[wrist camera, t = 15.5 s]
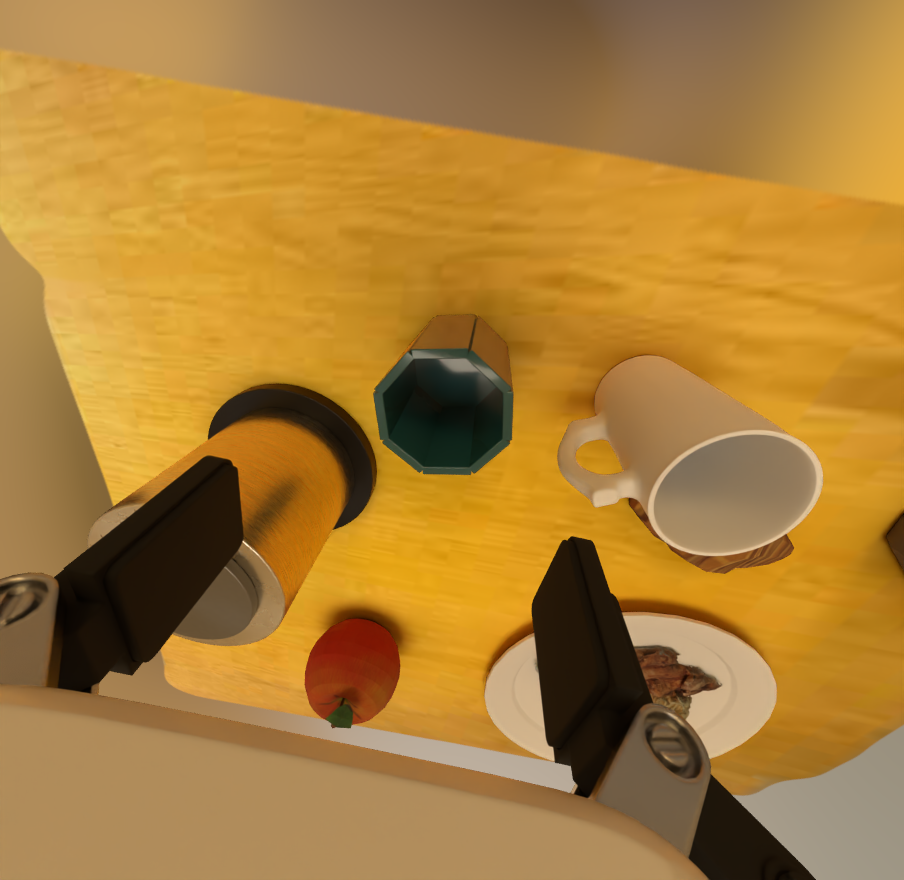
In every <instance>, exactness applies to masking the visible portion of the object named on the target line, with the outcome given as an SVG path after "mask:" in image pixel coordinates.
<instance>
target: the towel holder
mask: <svg viewBox="0 0 904 880" xmlns="http://www.w3.org/2000/svg"><path fill="white" fill-rule="evenodd" d="M207 455H211V456H215V457H220V458H224V459H229V460H231V461H232V463H233V466H235V467H237V469H238V477H239V488H240V499H241V511H242V522H243V533H244V538H243V542H242V544H241V546H240V548H239V549H238V551H237V552H236V553H235V555H234V556H233V557H232V558H231V560H230V561H229V562H228V563H227V565H226V566H225V567H224V569H223V570H222V571H221V572H220V574H219V575H218V576H217V577H216V579H215V580H214V581H213V583H212V584H211V585H210V586H209V588H208V589H207V590H206V591H205V593H204V594H203V595H202V597H201V598H200V599H199V600H198V602H197V603H196V604H195V605H194V607H193V608H192V609H191V611H190V612H189V613H188V614H187V616H186V617H185V618H184V619H183V621H182V622H181V623H180V625H179V626H178V627H177V628H176V630H175V631H174V632H173V633H172V634H174V635H176V636H179V637H182V638H185V639H188V640H192V641H195V642H200V643H205V644H210V645H219V646H237V645H245V644H250V643H254V642H257V641H259V640H261V639H264V638H266V637H267V636H269V635H270V634H271V633H273V632H274V631H275V630H276V629H277V628H278V626H279V625H280V623H281V622H282V620H283V618H284V616H285V615H286V613H287V611H288V609H289V607H290V606H291V604H292V602H293V600H294V598H295V597H296V595H297V593H298V591H299V589H300V588H301V586H302V584H303V582H304V580H305V579H306V577H307V575H308V573H309V571H310V570H311V568H312V566H313V564H314V562H315V561H316V559H317V557H318V555H319V553H320V551H321V550H322V548H323V546H324V544H325V542H326V541H327V539H328V537H329V535H330V533H331V532H332V530H334V529H337V528H339V527H342V526H344V525H346V524H348V523H349V522H351V521H352V520H353V519H355V518H356V517H357V516H358V515H359V514H360V513H361V512H362V511H363V509H364V508H365V506H366V505H367V503H368V501H369V499H370V497H371V494H372V492H373V490H374V486H375V482H376V462H375V457H374V453H373V450H372V448H371V445H370V443H369V441H368V439H367V437H366V435H365V434H364V432H363V431H362V429H361V428H360V426H359V425H358V424H357V423H356V422H355V420H354V419H353V418H352V417H351V416H350V415H349V414H348V413H347V412H346V411H345V410H343V409H342V408H341V407H340V406H338V405H337V404H335V403H334V402H333V401H331V400H329V399H328V398H326V397H324V396H322V395H320V394H318V393H316V392H314V391H311V390H308V389H305V388H302V387H298V386H293V385H288V384H265V385H260V386H255V387H252V388H250V389H247V390H245V391H243V392H241V393H240V394H238V395H236V396H235V397H233V398H231V399H230V400H228V401H227V402H226V403H225V404H224V405H222V406H221V408H220V409H219V410H218V411H217V413H216V414H215V416H214V418H213V420H212V422H211V425H210V428H209V434H208V440H207V441H206V442H205V443H203V444H202V445H200V446H199V447H197V448H196V449H195V450H193V451H192V452H190V453H189V454H187V455H186V456H185V457H183V458H182V459H180V460H179V461H178V462H176V463H175V464H173V465H172V466H170V467H169V468H168V469H166V470H165V471H163V472H162V473H160V474H159V475H158V476H156V477H155V478H153V479H152V480H151V481H149V482H148V483H146V484H145V485H143V486H142V487H141V488H139V489H138V490H136V491H135V492H133V493H132V494H131V495H129V496H128V497H126V498H125V499H124V500H122V501H121V502H119V503H118V504H116V505H115V506H114V507H112V508H111V509H109V510H108V511H107V512H105V513H104V514H103V515H101V516H100V517H99V518H98V519H97V520H96V522H95V523H94V524H93V526H92V527H91V530H90V532H89V535H88V541H87V546H88V549H89V548H90V547H91V546H92V545H94V544H95V543H96V542H97V541H99V540H100V539H101V538H102V537H104V536H105V535H106V534H108V533H109V532H110V531H111V530H113V529H114V528H115V527H116V526H118V525H119V524H120V523H121V522H123V521H124V520H125V519H126V518H128V517H129V516H130V515H131V514H133V513H134V512H135V511H136V510H138V509H139V508H140V507H141V506H143V505H144V504H145V503H147V502H148V501H149V500H150V499H152V498H153V497H154V496H155V495H157V494H158V493H159V492H160V491H162V490H163V489H164V488H165V487H167V486H168V485H169V484H170V483H172V482H173V481H174V480H175V479H177V478H178V477H179V476H181V475H182V474H183V473H184V472H186V471H187V470H188V469H189V468H191V467H192V466H193V465H194V464H196V463H197V462H198V461H199V460H201V459H202V458H203V457H205V456H207Z"/></svg>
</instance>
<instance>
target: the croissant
mask: <svg viewBox="0 0 904 880" xmlns="http://www.w3.org/2000/svg"><path fill="white" fill-rule="evenodd" d="M629 505H630V506H631V508H632V509H633V510H634V512H635V513H636V514H637V516H638V517H639V518H640V519H641V521H642V522H643V523H644V524H645V525H646V527H647V528H648V529H649V530H650V531H651V533H652V534H653V535H654V536H655V537H657V538H659V539H660V540H662V539H661V538H660V537H659V536H658V534H657V533H656V532H655V530H654V529H653V527H652V525H651V523H650V521H649V517H648V516H647V514H646V512H645V511H644V509H643V507H642V505H641V504H640V502H639V501H638V500H636V499H634V498H629ZM662 541H664V540H662ZM664 542H665V541H664ZM667 545H668V546H669V548H670V549H671V550H672V551H673V552H675V553H676V554H678V555H679V556H680V557H682V558H683V559H685V560H686V561H688V562H690V563H692V564H693V565H695V566H697V567H699V568H701V569H702V570H704V571H706V572H715V573H724V574H725V573H727V572H729V571H731V570H733V569H735V568H748V567H754V566H761V565H767V564H771V563H773V562H776V561H778V560H781V559H783V558H785V557H787V556H789V555H790V554H791V552H792V551H793V549H794V547H793V545H792V543H791V541H790V540H789V538H788V536H787V534H785V535H784V536H782V537H780V538H779V539H777V540H775V541H773V542H771V543H769V544H767V545H764V546H762V547H759V548H757V549H754V550H751V551H747V552H743V553H739V554H733V555H725V556H704V555H696V554H691V553H688V552H684V551H681V550H679V549H677V548H674V547H673V546H671V545H669V544H668V543H667Z"/></svg>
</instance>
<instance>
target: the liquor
mask: <svg viewBox="0 0 904 880" xmlns="http://www.w3.org/2000/svg"><path fill="white" fill-rule="evenodd" d="M886 537H887V540H888V542H889V545H890V547H891V548H892V550H893V552H894V554H895V556H896V558H897V559H898V561H899V563H900V565H901V567H902V568H903V570H904V514H903V516H902V517H901V518H900V519H899V521H898V522H897V523H896V524H895V526H894V527H893V528H892V530H891V531H890V532H889V533H888V535H887V536H886Z"/></svg>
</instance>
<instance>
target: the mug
mask: <svg viewBox="0 0 904 880" xmlns="http://www.w3.org/2000/svg"><path fill="white" fill-rule="evenodd" d="M594 408H595V413H596V416H594V417H591V418H587V419H581V420H575V421H572V422H571V423H570V424H569V425H568V427H567V430H566V432H565V434H564V437H563V439H562V441H561V443H560V446H559V449H558V456H557V457H558V465H559V469H560V471H561V473H562V475H563V476H564V477H565V479H566V480H567V481H568V482H569V483H570V484H571V485H573V486H574V487H575V488H576V489H577V490H579V491H580V492H581V493H582V494H584V495H585V496H586V497H588V498H589V499H590V501H591V502H592V504H593V505H594V506H595V507H600V506H604V505H610V504H614V503H616V502H618V500H619V499H620V498H624V497H629V498H634V499H636V500H638V501H639V502H640V504H641V505H642V507H643V509H644V511H645V512H646V514H647V516H648V517H649V521H650V523H651V525H652V527H653V529H654V530H655V532H656V533H657V534H658V536H659V537H660V538H661V539H662V540H664V541H665V542H666V543H668V544H669V545H671V546H673V547H674V548H677V549H679V550H681V551H684V552H688V553H691V554H696V555H704V556H725V555H733V554H739V553H743V552H747V551H751V550H754V549H757V548H759V547H762V546H764V545H767V544H769V543H771V542H773V541H775V540H777V539H779V538H780V537H782V536H784V535H785V534H787V533H788V532H789V531H791V530H792V529H793V528H795V527H796V526H797V525H798V524H799V523H800V522H801V521H802V520H803V519H804V518H805V517H806V516H807V515H808V514H809V512H810V511H811V510H812V508H813V507H814V505H815V503H816V502H817V500H818V498H819V495H820V493H821V490H822V485H823V472H822V467H821V464H820V462H819V459H818V458H817V456H816V454H815V453H814V452H813V451H812V450H811V449H810V448H809V447H808V446H807V445H806V444H805V443H803V442H802V441H800V440H799V439H797V438H795V437H793V436H791V435H789V434H788V433H787V432H785V431H784V430H782V429H781V428H780V427H778V426H777V425H775V424H774V423H772V422H771V421H769V420H768V419H766V418H764V417H763V416H761V415H759V414H758V413H756V412H755V411H753V410H751V409H750V408H748V407H746V406H745V405H743V404H742V403H740V402H738V401H737V400H735V399H733V398H732V397H730V396H728V395H727V394H725V393H724V392H722V391H720V390H719V389H717V388H715V387H714V386H712V385H711V384H709V383H707V382H706V381H704V380H703V379H701V378H699V377H698V376H696V375H695V374H693V373H691V372H690V371H688V370H686V369H684V368H682V367H681V366H679V365H677V364H676V363H674V362H672V361H671V360H668V359H666V358H663V357H660V356H653V355H645V356H638V357H634V358H631V359H628V360H626V361H623V362H622V363H620V364H618V365H617V366H615V367H614V368H613V369H611V370H610V371H609V372H608V373H607V374H606V375H605V377H604V378H603V379H602V381H601V382H600V384H599V386H598V388H597V391H596V394H595V399H594ZM600 439H602V440H606V441H608V442H609V443H610V445H611V446H612V448H613V450H614V452H615V454H616V456H617V458H618V460H619V462H620V464H621V466H622V468H623V470H624V471H623V472H620V473H616V474H610V475H601V474H596V473H592V472H590V471H588V470H586V469H584V468H582V467H581V466H580V465H579V464H578V463H577V461H576V458H575V455H576V451H577V449H578V448H579V447H580V446H581V445H582V444H584V443H586V442H589V441H593V440H600Z"/></svg>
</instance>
